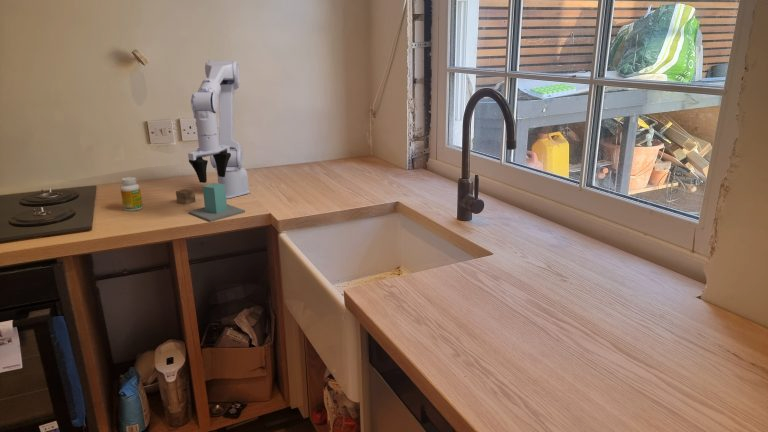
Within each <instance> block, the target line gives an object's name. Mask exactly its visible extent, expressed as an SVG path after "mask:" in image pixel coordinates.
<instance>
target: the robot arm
mask: <svg viewBox="0 0 768 432" xmlns="http://www.w3.org/2000/svg"><path fill="white" fill-rule="evenodd" d="M204 71H205V75H206V76H205V77H206V78H205V79H204V80H203V81H202V82H201V84H200V86H199V88H198V90H197V91H196V92H194V93H192V94H191V96H190V106H191V110H192V113H193V118H194V119H195V122H196V123H195V124H196V133H197V142H198V147H197V149H196V150H194V151H192V152H188V153H187V155H188V156H187V157H188V162H189V164H190V165H191V167H192V168H193V169H194V172H195V173H196V177H197V179H198V182H199V183H202V184H206V183H207V179H208V178H207V168H208V167H207V165H208V162H209V161H210V165H211V166H212V168H213V169H214V170H215V171H216V174H217V175H216V176H217V183H218V184H224V185H225V192H226V200H228V199H232V198H236V197H240V196H244V195H248V194H250V193H251V191H250V189H249V187H250V185H249V177H248V171H247V169H246V168H245V167H243V166H244V152H243V151H244V149H243V146H242V145H241V143H239V142H237V141H236V140H235V137H234V136H235V132H234V131H235V129H234V128H235V126H234V124H235V119H234V115H235V114H234V113H235V109H234V108H235V107H234V106H235V105H234V99H235V92H236V90H238V89H239V88H240V84H241V83H240V81H241V80H240V73H241V72H240V67H239V62H237V60H211V59H210V60H207V61H206V62H205V64H204ZM217 112H218V119H217ZM217 121H218V122H217ZM208 157H210V158H209V161H208V160H206V159H204V158H208Z"/></svg>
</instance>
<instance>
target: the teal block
mask: <svg viewBox="0 0 768 432" xmlns="http://www.w3.org/2000/svg"><path fill="white" fill-rule="evenodd" d="M202 194H203V201H204V207H205V212H209V213H215V214H218V213H220V212H223V211H225V210H227V203H228V202H227V199H226V192H225V185H224V184H218V182H211V183H209V184H206V185H203V186H202Z"/></svg>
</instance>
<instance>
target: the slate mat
mask: <svg viewBox="0 0 768 432" xmlns="http://www.w3.org/2000/svg"><path fill="white" fill-rule="evenodd" d="M244 213H246V209H242V208H239V207H236V206H235V205H230V204H227V210H225V211H223V212H220V213H218V214H215V213H209V212H205V206H204V207H201V208H196V209H192V210H189V211H188V214H189V215H192V216H194V217H197V218H200V219H203V220H205V221H207V222H215V221H218V220H221V219H225V218H230V217H233V216H237V215H239V214H244Z"/></svg>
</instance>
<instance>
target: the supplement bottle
mask: <svg viewBox="0 0 768 432" xmlns="http://www.w3.org/2000/svg"><path fill="white" fill-rule="evenodd" d="M121 183H122V185H121V186H120V193H121V200H122V207H123V210H124V211H125V212H135V211H139V210H141V209H143V200H142V198H143V197H142V191H141V187H140V185H139V184H138V183H137V178H136V177H134V176H126V177H123V178H121Z"/></svg>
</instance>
